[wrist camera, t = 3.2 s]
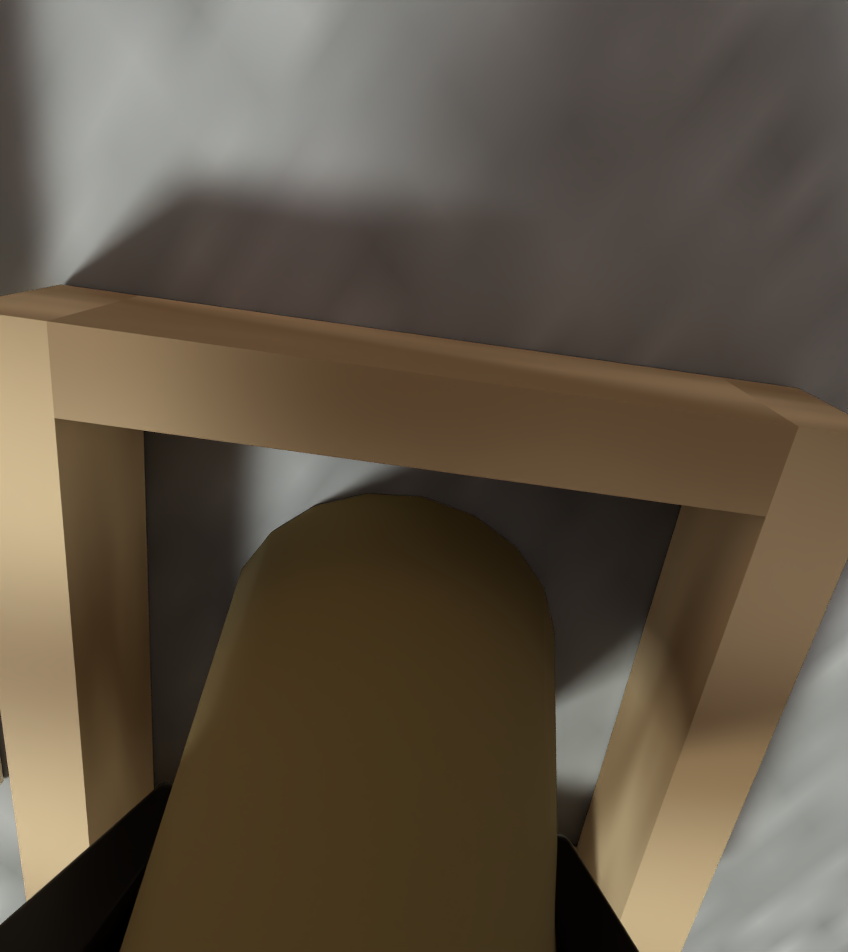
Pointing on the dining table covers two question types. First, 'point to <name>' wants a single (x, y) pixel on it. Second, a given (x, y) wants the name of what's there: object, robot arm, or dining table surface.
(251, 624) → the cork
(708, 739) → the wooden holder
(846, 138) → the dining table surface
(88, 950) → the robot arm
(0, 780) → the plastic tray
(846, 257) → the dining table surface
